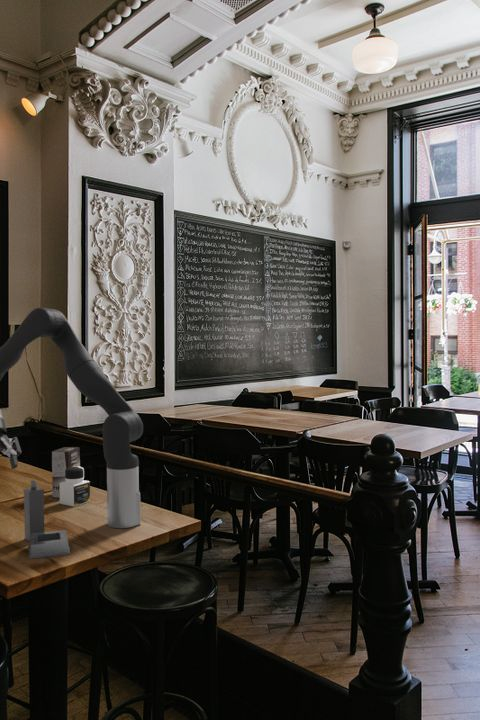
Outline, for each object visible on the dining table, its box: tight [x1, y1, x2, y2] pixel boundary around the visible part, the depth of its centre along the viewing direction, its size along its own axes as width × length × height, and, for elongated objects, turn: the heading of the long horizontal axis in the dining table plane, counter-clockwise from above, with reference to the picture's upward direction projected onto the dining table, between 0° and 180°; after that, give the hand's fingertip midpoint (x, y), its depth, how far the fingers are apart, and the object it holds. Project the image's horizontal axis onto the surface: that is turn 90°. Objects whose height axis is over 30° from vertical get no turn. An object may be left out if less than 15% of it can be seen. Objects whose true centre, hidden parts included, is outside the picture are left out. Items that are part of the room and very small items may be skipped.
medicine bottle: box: [59, 466, 91, 507], centre depth 199 cm, size 7×7×12 cm
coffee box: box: [51, 446, 81, 498], centre depth 210 cm, size 9×6×16 cm
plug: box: [23, 479, 46, 544], centre depth 164 cm, size 4×4×16 cm
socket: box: [28, 529, 71, 560], centre depth 156 cm, size 10×10×3 cm
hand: (1, 468), depth 180 cm, fingers open, 8 cm apart
